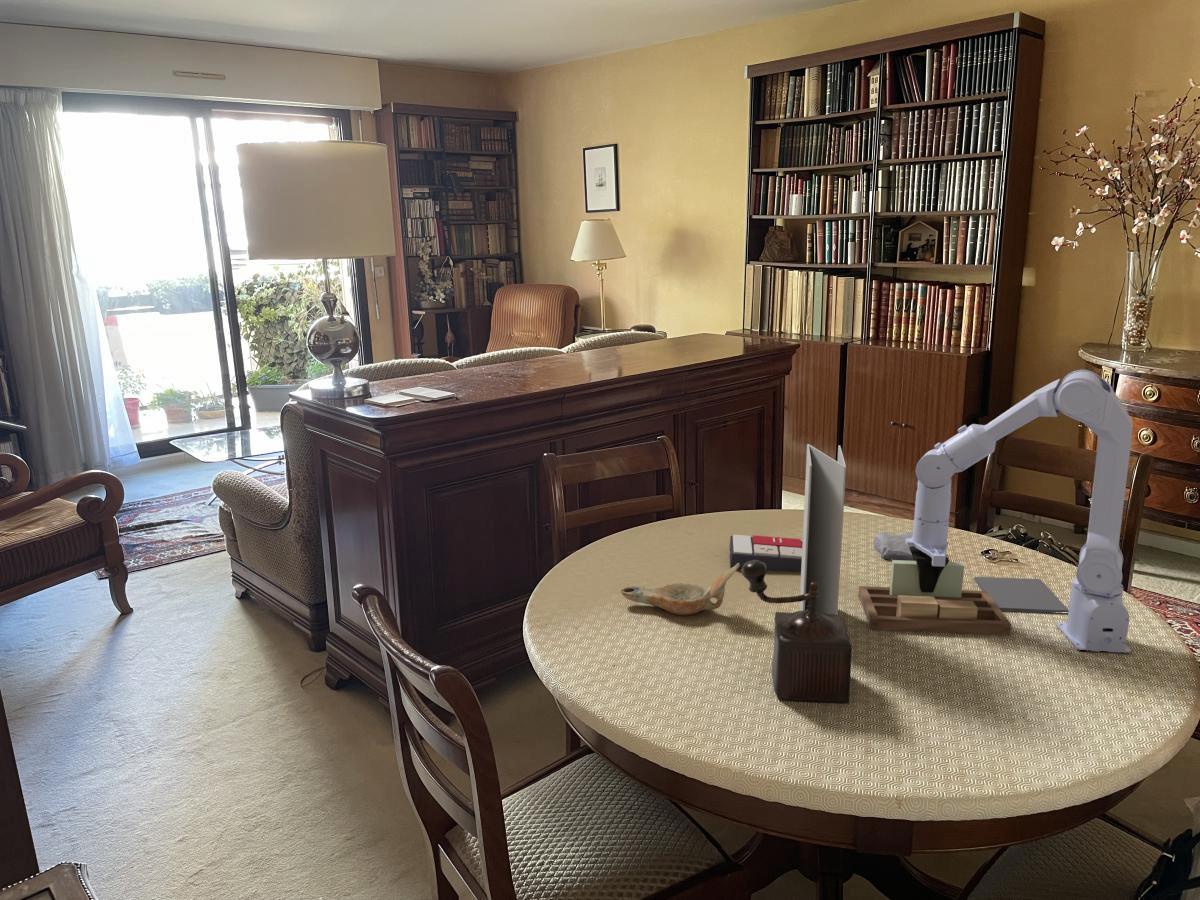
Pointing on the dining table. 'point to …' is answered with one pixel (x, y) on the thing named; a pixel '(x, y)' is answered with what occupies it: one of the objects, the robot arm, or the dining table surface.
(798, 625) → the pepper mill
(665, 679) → the dining table surface
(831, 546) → the brochure
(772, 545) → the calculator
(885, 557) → the stone block
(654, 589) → the oil lamp
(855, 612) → the dining table surface
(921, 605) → the offcut
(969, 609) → the offcut
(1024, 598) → the mat
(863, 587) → the rack
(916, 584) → the pale green rectangular block
